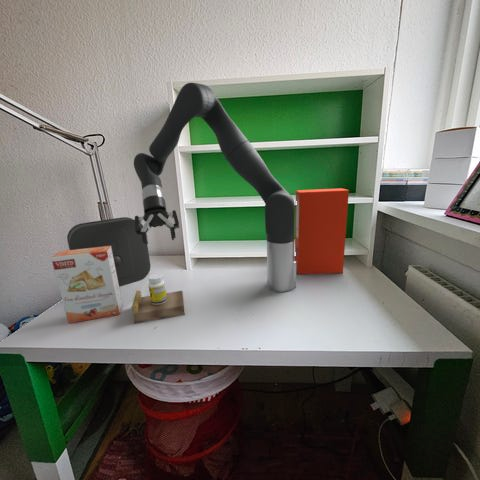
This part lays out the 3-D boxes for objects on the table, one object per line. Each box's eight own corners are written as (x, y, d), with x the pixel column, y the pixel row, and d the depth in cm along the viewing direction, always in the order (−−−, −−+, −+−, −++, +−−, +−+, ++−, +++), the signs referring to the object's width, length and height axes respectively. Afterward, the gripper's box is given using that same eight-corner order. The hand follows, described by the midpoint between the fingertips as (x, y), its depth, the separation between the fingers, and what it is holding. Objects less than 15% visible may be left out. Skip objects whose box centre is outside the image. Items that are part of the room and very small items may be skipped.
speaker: (146, 271, 108) (137, 215, 101) (153, 277, 102) (144, 217, 95) (79, 291, 93) (63, 225, 86) (83, 299, 87) (66, 229, 80)
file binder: (343, 273, 97) (348, 189, 88) (298, 274, 98) (299, 192, 89) (336, 265, 104) (340, 188, 96) (294, 267, 105) (295, 190, 97)
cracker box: (67, 325, 72) (49, 256, 66) (75, 314, 78) (58, 250, 72) (120, 315, 75) (106, 250, 70) (123, 305, 81) (111, 244, 75)
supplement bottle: (151, 299, 78) (147, 274, 76) (166, 296, 79) (163, 271, 77) (151, 306, 74) (147, 280, 71) (167, 303, 75) (164, 277, 73)
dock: (183, 298, 84) (181, 284, 82) (184, 314, 74) (182, 298, 73) (139, 306, 80) (136, 291, 79) (134, 323, 71) (131, 306, 69)
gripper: (130, 197, 84) (134, 240, 78) (173, 192, 87) (180, 232, 81) (135, 209, 91) (139, 249, 84) (175, 203, 94) (182, 242, 88)
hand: (159, 241), depth 83 cm, fingers open, 8 cm apart
